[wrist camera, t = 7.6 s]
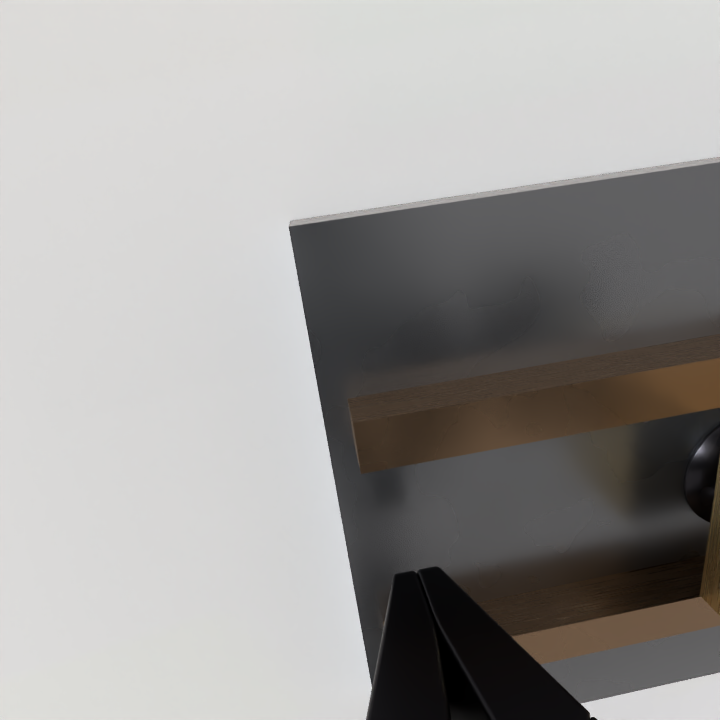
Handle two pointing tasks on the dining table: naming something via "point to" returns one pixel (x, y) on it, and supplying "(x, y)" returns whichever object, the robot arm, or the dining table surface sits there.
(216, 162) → the dining table surface
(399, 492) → the bolt plate
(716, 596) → the tan wooden block
